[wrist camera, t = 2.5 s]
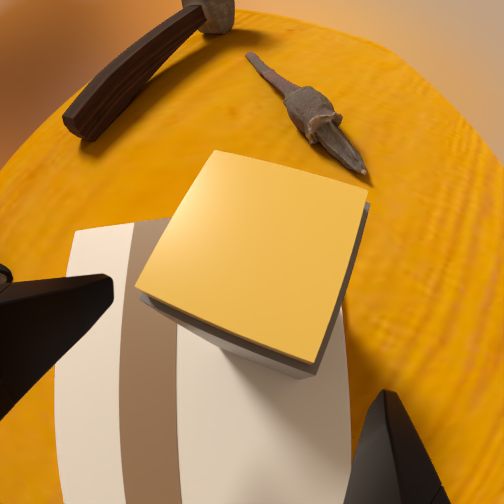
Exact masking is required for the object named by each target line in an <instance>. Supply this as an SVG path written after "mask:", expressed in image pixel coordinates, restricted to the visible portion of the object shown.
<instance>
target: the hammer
mask: <svg viewBox="0 0 504 504" xmlns="http://www.w3.org/2000/svg"><path fill="white" fill-rule="evenodd" d="M182 6H183V9H182V10H181V11H179V12H178V13H176V14H174V15H173V16H171V17H170V18H168V19H167V20H165V21H164V22H162V23H161V24H160V25H158V26H157V27H155V28H154V29H153V30H151V31H150V32H148V33H147V34H146V35H144V36H143V37H142V38H140V39H139V40H138V41H136V42H135V43H134V44H133V45H131V46H130V47H129V48H127V49H126V50H125V51H124V52H123V53H121V54H120V55H119V56H118V57H117V58H116V59H114V60H113V61H112V62H111V63H110V64H108V65H107V66H106V67H105V68H104V69H103V70H102V71H101V72H100V73H98V74H97V75H96V76H95V77H94V78H93V80H92V81H91V82H90V83H89V84H88V85H87V86H86V87H85V88H84V90H83V91H82V92H81V93H80V94H79V95H78V97H77V98H76V99H75V100H74V101H73V103H72V104H71V105H70V106H69V108H68V109H67V110H66V111H65V113H64V114H63V115H62V118H63V122H64V125H65V126H66V127H67V129H68V130H69V131H70V132H71V133H73V134H74V135H76V136H77V137H80V138H83V139H86V140H89V141H96V139H97V138H98V137H99V136H100V135H101V134H102V133H103V132H104V131H105V130H106V129H107V128H108V127H109V126H110V125H111V123H112V122H113V121H114V120H115V119H116V118H117V117H118V115H119V114H120V113H121V112H122V111H123V110H124V109H125V108H126V106H127V105H128V104H129V103H130V102H131V101H132V99H133V98H134V97H135V96H136V94H137V93H138V92H139V91H140V90H141V88H142V87H143V86H144V85H145V84H146V82H147V81H148V80H149V79H150V78H151V77H152V76H153V74H154V73H155V72H156V71H157V70H158V69H159V68H160V67H161V66H162V64H163V63H164V62H165V61H166V60H167V59H168V58H169V57H170V56H171V55H172V54H173V53H174V52H175V51H176V50H177V49H178V48H179V47H180V46H181V45H182V44H183V43H184V42H185V41H186V40H187V39H188V38H189V37H190V36H191V35H192V34H193V33H194V32H195V31H196V30H197V29H198V30H199V31H200V32H202V33H205V34H225V33H227V32H228V31H230V30H231V28H232V26H233V25H234V15H235V3H234V0H182Z"/></svg>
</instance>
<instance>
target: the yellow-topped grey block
mask: <svg viewBox="0 0 504 504" xmlns="http://www.w3.org/2000/svg"><path fill="white" fill-rule="evenodd" d="M367 193H368V190H365V189H362V188H359V187H356V186H353V185H350V184H347V183H343V182H340V181H337V180H333V179H330V178H327V177H323V176H320V175H316V174H313V173H309V172H305V171H302V170H298V169H294V168H290V167H287V166H283V165H279V164H275V163H271V162H267V161H263V160H258V159H254V158H250V157H245V156H241V155H236V154H232V153H227V152H222V151H217V150H214V152H213V153H212V155H211V156H210V158H209V159H208V161H207V162H206V164H205V165H204V167H203V168H202V170H201V171H200V173H199V175H198V176H197V178H196V179H195V181H194V183H193V184H192V186H191V187H190V189H189V191H188V192H187V194H186V195H185V197H184V199H183V200H182V202H181V204H180V205H179V207H178V209H177V210H176V212H175V214H174V215H173V217H172V219H171V220H170V222H169V224H168V226H167V227H166V229H165V231H164V233H163V234H162V236H161V238H160V240H159V241H158V243H157V245H156V247H155V249H154V250H153V252H152V254H151V256H150V258H149V260H148V261H147V263H146V265H145V267H144V269H143V271H142V273H141V274H140V276H139V278H138V280H137V282H136V284H135V286H134V287H136V288H137V289H139V290H140V291H141V292H142V294H141V296H140V298H139V300H140V301H142V302H143V303H145V304H146V305H148V306H150V307H151V308H153V309H154V310H156V311H157V312H159V313H161V314H162V315H164V316H165V317H167V318H169V319H170V320H172V321H174V322H175V323H177V324H179V325H180V326H182V327H184V328H185V329H187V330H189V331H190V332H192V333H194V334H196V335H197V336H199V337H201V338H203V339H204V340H206V341H208V342H210V343H211V344H213V345H215V346H217V347H219V348H221V349H223V350H225V351H228V352H230V353H232V354H235V355H237V356H239V357H242V358H244V359H247V360H249V361H252V362H254V363H256V364H259V365H261V366H264V367H266V368H269V369H272V370H274V371H277V372H279V373H282V374H285V375H287V376H290V377H293V378H296V379H298V380H301V379H305V378H309V377H312V376H316V374H317V371H318V369H319V366H320V363H321V361H322V358H323V356H324V353H325V350H326V348H327V345H328V342H329V340H330V337H331V334H332V331H333V328H334V326H335V323H336V320H337V317H338V314H339V311H340V308H341V305H342V302H343V299H344V296H345V293H346V290H347V287H348V283H349V280H350V277H351V274H352V270H353V267H354V263H355V260H356V257H357V253H358V249H359V246H360V242H361V239H362V235H363V231H364V227H365V223H366V219H367V215H368V211H369V207H370V203H367V202H365V201H366V197H367Z"/></svg>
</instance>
